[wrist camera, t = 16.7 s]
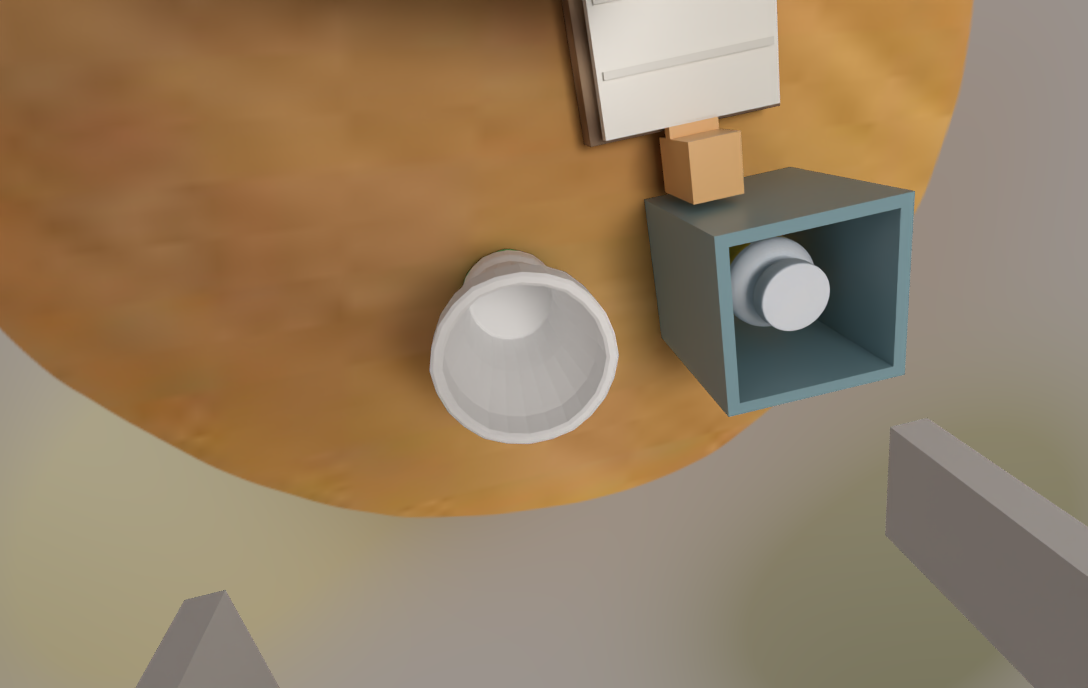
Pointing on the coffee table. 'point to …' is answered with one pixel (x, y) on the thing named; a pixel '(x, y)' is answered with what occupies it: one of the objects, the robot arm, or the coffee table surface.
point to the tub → (835, 247)
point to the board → (585, 77)
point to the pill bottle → (776, 284)
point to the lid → (684, 81)
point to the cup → (522, 351)
